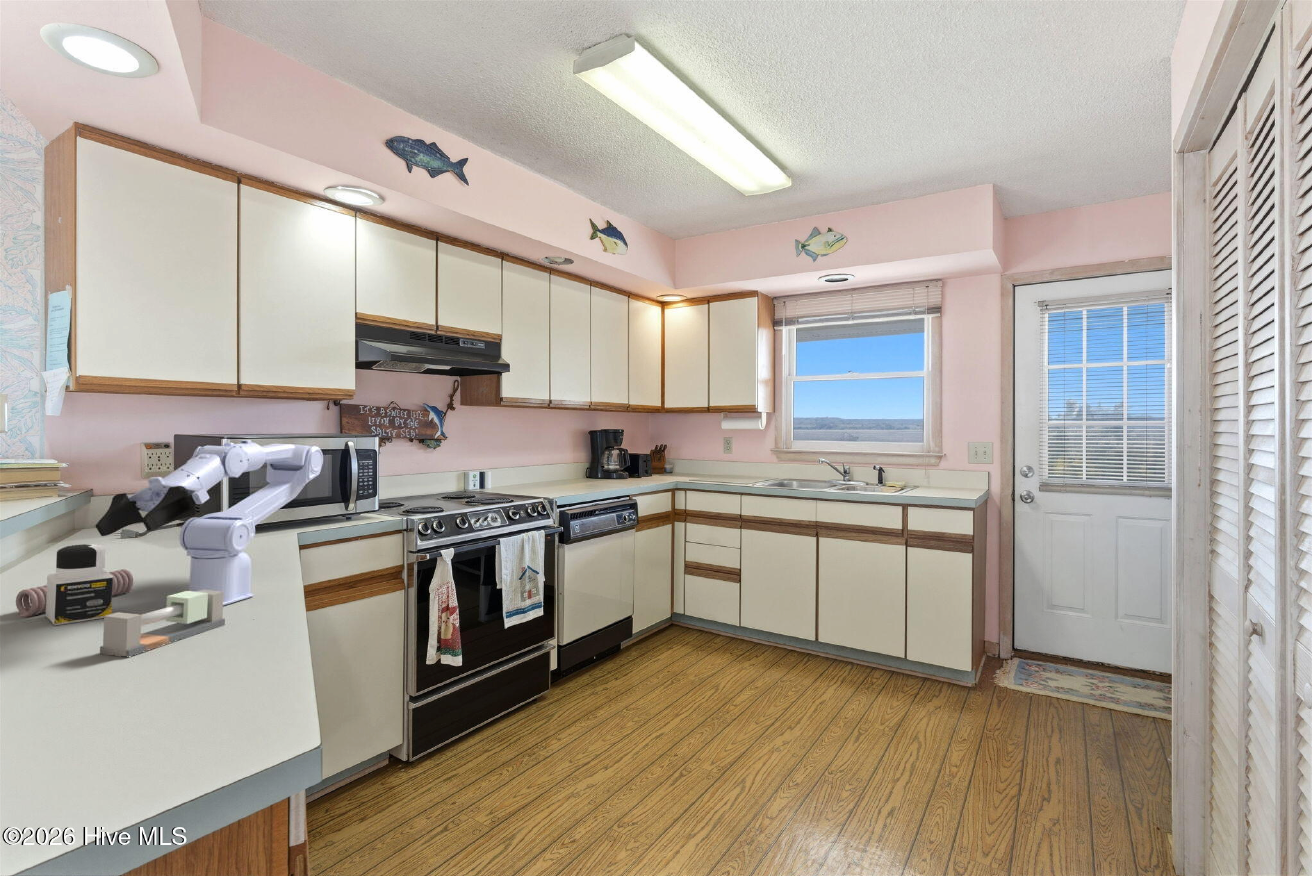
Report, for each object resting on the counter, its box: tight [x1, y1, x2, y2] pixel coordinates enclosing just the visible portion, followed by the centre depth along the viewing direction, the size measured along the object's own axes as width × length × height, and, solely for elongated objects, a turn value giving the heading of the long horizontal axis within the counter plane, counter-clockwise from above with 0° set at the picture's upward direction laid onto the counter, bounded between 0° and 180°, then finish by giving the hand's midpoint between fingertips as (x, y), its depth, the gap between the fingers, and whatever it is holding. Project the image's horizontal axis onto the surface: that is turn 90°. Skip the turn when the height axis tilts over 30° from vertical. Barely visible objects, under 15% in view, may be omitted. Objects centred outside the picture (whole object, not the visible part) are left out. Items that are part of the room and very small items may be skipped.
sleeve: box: [165, 590, 208, 624], centre depth 100 cm, size 4×4×4 cm
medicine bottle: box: [45, 543, 113, 626], centre depth 105 cm, size 7×7×12 cm
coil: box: [15, 569, 134, 618], centre depth 112 cm, size 5×5×18 cm
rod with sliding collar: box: [99, 590, 226, 658], centre depth 97 cm, size 16×5×6 cm, turn 170°
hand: (123, 527), depth 96 cm, fingers open, 7 cm apart
